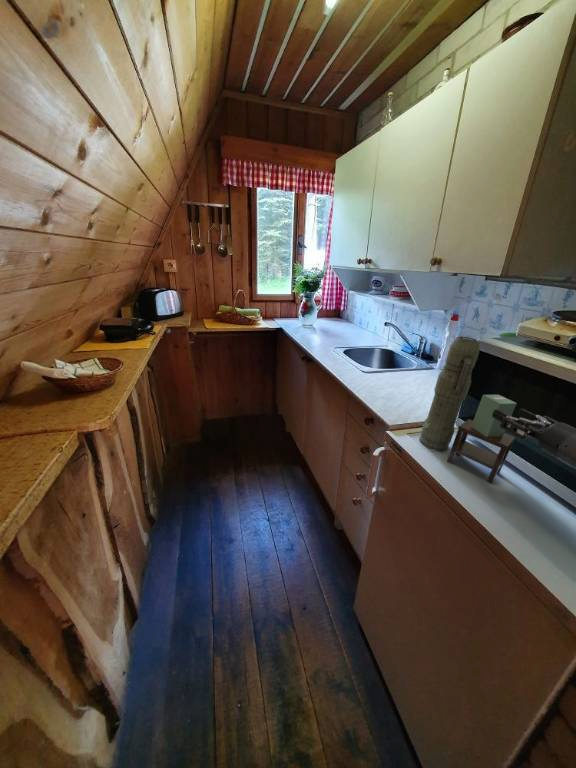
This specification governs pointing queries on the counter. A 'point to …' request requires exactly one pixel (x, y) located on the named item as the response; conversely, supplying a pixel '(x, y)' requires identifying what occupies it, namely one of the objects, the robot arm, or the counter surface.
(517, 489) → the counter surface
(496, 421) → the pale green box
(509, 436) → the rack
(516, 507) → the counter surface
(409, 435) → the counter surface
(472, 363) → the stone statue
